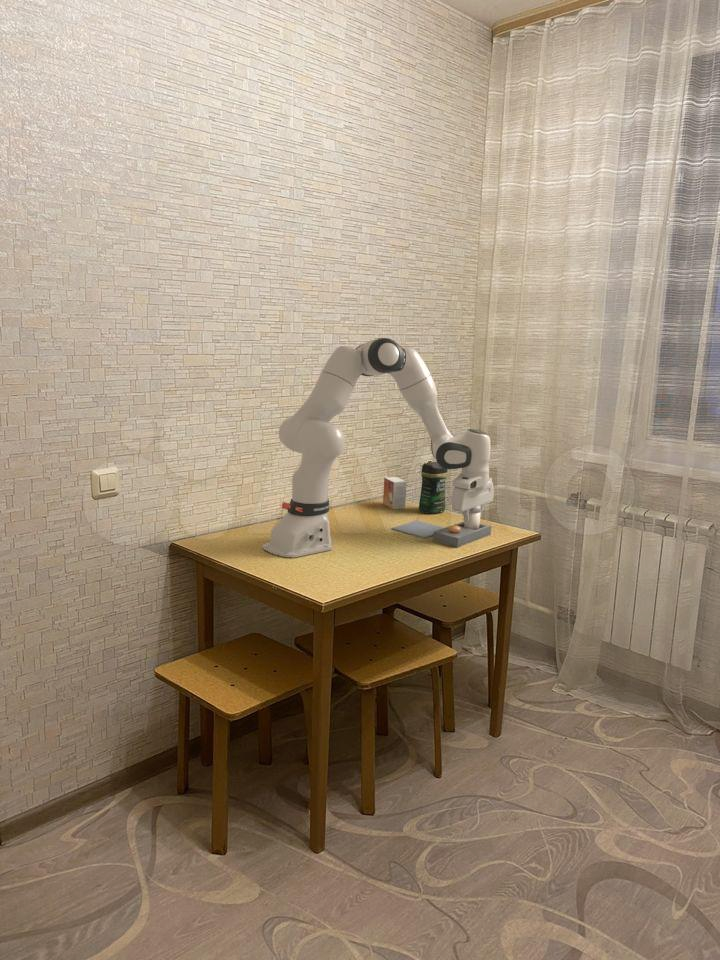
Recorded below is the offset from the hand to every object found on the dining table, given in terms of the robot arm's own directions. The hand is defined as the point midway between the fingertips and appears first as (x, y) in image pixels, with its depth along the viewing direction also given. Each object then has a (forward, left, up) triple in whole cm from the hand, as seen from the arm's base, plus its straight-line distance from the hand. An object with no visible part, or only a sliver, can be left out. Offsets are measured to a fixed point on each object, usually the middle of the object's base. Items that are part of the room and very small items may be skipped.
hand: (472, 519), depth 246 cm
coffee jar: (+14, +26, -5) cm, 30 cm away
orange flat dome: (-10, 0, -2) cm, 10 cm away
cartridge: (0, 0, -5) cm, 5 cm away
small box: (+9, +40, -5) cm, 41 cm away
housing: (-5, 0, -5) cm, 7 cm away
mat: (-8, +15, -5) cm, 18 cm away
